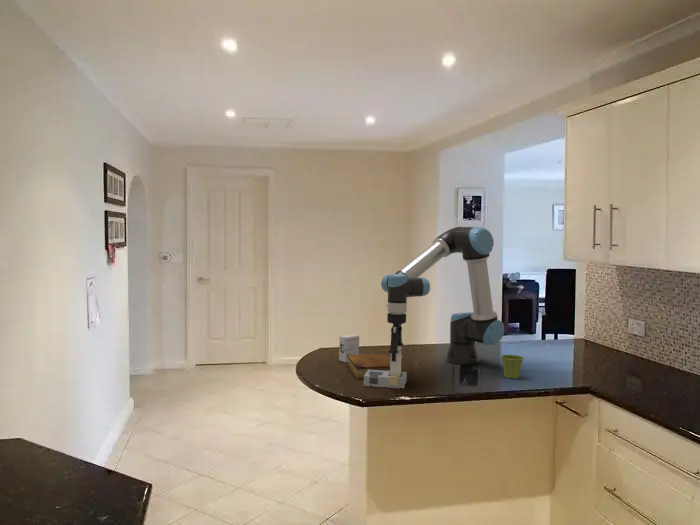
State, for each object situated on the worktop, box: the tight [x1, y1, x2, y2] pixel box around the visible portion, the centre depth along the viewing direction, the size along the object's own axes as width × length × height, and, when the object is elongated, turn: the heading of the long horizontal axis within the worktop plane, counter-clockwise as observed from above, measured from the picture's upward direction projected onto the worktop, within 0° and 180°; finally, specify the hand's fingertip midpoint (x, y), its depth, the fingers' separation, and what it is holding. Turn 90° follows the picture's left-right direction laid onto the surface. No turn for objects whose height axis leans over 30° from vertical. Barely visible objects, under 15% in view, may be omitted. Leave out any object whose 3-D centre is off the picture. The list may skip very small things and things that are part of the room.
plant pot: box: [500, 354, 525, 380], centre depth 258 cm, size 9×9×9 cm
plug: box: [389, 350, 402, 377], centre depth 242 cm, size 4×4×13 cm
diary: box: [346, 353, 390, 380], centre depth 263 cm, size 23×19×6 cm
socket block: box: [363, 370, 408, 390], centre depth 243 cm, size 16×11×4 cm
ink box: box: [338, 334, 360, 364], centre depth 283 cm, size 9×5×12 cm, turn 129°
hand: (395, 365), depth 242 cm, fingers open, 13 cm apart
